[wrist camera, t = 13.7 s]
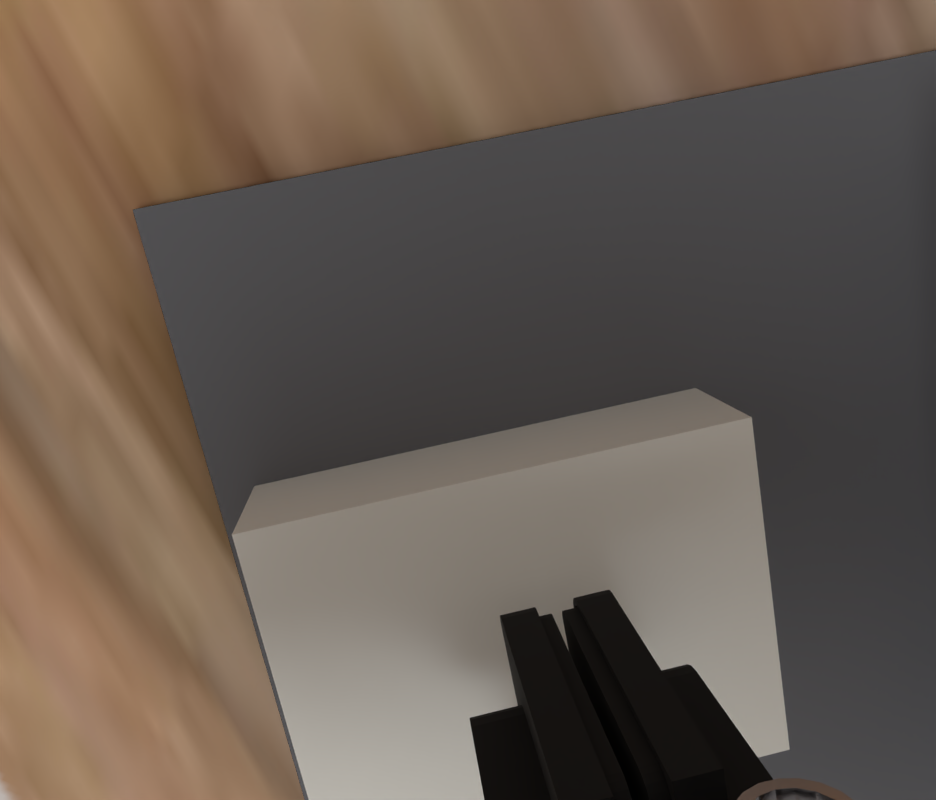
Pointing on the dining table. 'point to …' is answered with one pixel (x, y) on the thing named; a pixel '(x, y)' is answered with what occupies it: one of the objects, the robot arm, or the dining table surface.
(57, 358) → the dining table surface
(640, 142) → the mat
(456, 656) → the off-white rectangular block
